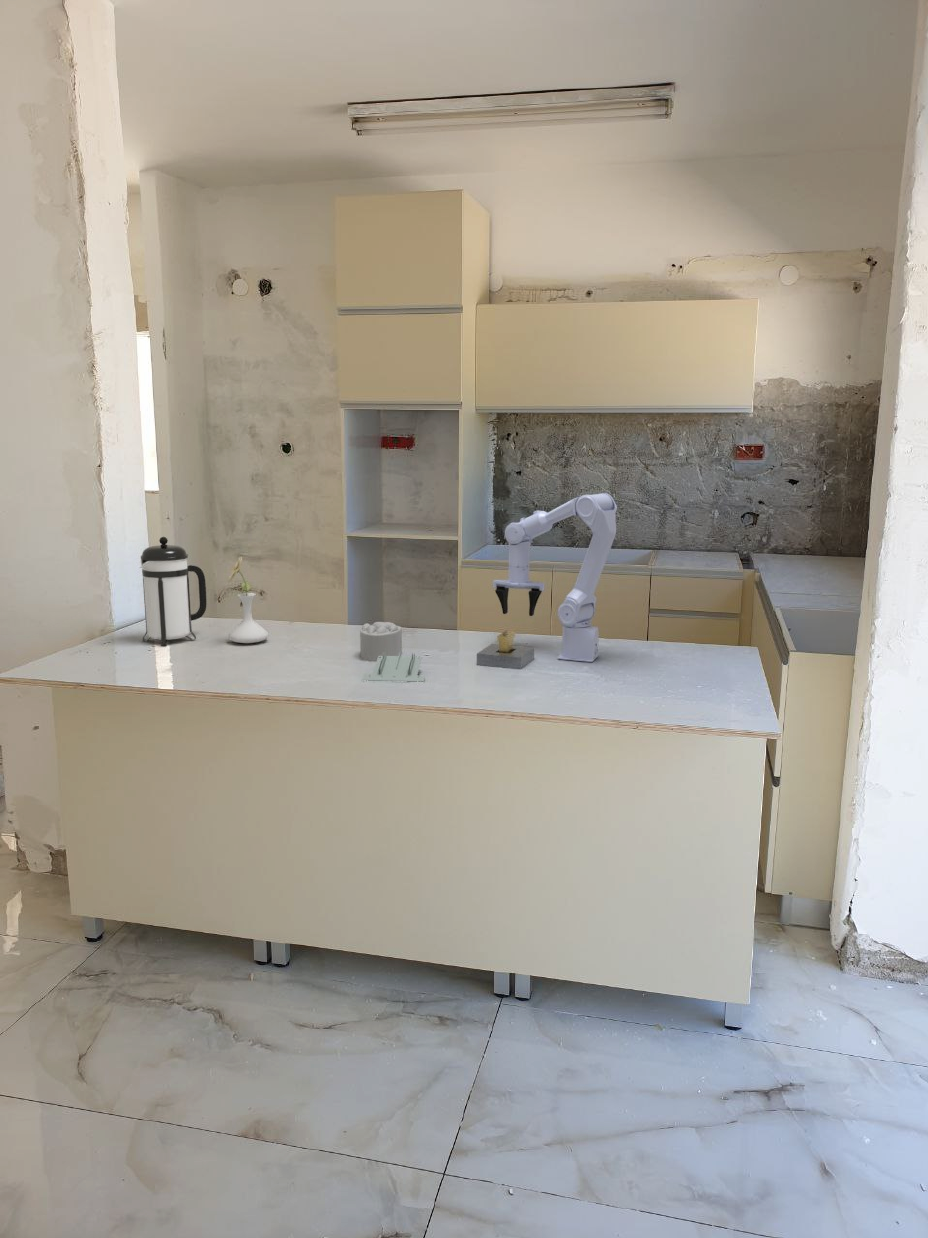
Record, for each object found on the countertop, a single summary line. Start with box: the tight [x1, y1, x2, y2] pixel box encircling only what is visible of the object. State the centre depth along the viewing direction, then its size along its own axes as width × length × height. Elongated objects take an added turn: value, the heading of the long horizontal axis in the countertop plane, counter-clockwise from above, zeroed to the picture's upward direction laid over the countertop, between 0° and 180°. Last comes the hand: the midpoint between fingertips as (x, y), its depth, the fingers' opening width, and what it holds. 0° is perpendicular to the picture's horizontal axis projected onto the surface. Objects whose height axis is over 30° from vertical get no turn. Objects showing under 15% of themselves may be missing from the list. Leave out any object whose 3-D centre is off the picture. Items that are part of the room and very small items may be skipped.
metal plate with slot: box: [476, 643, 535, 670], centre depth 243 cm, size 12×12×3 cm
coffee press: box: [138, 536, 207, 647], centre depth 265 cm, size 17×16×30 cm
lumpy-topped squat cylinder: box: [359, 621, 403, 662], centre depth 249 cm, size 10×13×9 cm
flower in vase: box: [227, 556, 269, 644], centre depth 263 cm, size 13×11×25 cm
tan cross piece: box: [496, 630, 516, 653], centre depth 243 cm, size 2×7×8 cm, turn 159°
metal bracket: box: [361, 652, 426, 683], centre depth 229 cm, size 14×6×15 cm
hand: (518, 614), depth 258 cm, fingers open, 7 cm apart
